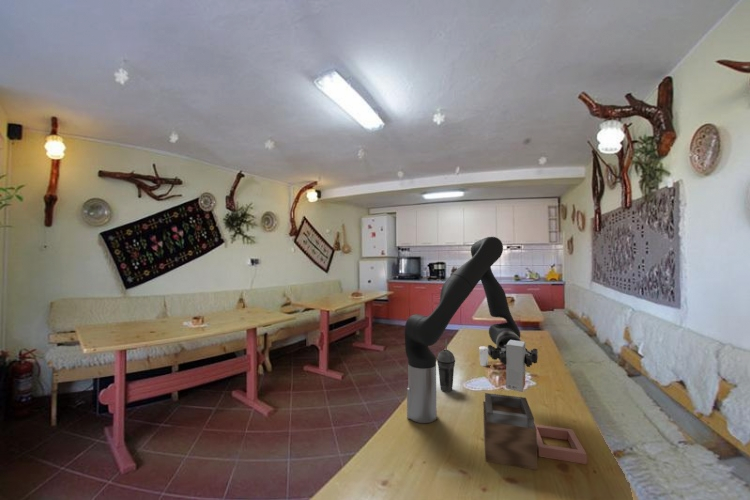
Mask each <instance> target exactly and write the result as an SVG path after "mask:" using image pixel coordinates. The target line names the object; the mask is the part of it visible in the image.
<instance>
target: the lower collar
mask: <svg viewBox="0 0 750 500" xmlns="http://www.w3.org/2000/svg"><path fill="white" fill-rule="evenodd" d="M534 424H535V423H534ZM535 427H536V433H537V456H538V457H542V458H546V459H553V460H560V461H565V462H571V463H576V464H577V463H578V464H582V465H587V464H588V455H587V454H588V453H586V450H585V449H584V447H583V446H582V444H581V442H580V440H579V439H578V437H577V436H576V434H575V431H574V430H573V429H572V428H564V427H556V426H549V425H543V424H542V425H541V424H538V423H537V424H535ZM542 437H543V438H544V437H545V438H552V439H557V440H565V441H566V440H567V441H568V443H569V445H570V447H571V448H569V447H564V446H556V445H550V444H544V442H543V439H542Z"/></svg>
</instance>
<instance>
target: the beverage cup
mask: <svg viewBox="0 0 750 500" xmlns="http://www.w3.org/2000/svg"><path fill="white" fill-rule="evenodd" d="M436 364H437V365H438V376H439V386H440V390H441V392H446V393H450V392H452V391H453V386H454V385H453V384H454V373H455V371H454V370H455V365H456V357H455V355H454V353H453V352H451V351H450V350H449V349H448V338H445V349H442V350H440V352H439V353H438V354H437V357H436Z"/></svg>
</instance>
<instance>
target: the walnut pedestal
mask: <svg viewBox="0 0 750 500" xmlns="http://www.w3.org/2000/svg"><path fill="white" fill-rule="evenodd" d="M482 405H483V406H482V407H483V409H482V410H483V443H484V455H485V462H489V463H494V464H495V463H496V464H501V465H505V466H512V467H518V468H524V469H529V470H536V471H537V470H538V452H537V433H536V427H535V418H534V415H533V412H532V411H531V407H530V405H529V403H528V400H527V397H524V396H514V395H505V394H496V393H488V392H487V393H486V392H484V401H483V403H482Z"/></svg>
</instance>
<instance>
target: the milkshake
mask: <svg viewBox="0 0 750 500" xmlns="http://www.w3.org/2000/svg"><path fill="white" fill-rule="evenodd" d="M478 351H479V353H478V354H479V362H480V364H479V365H480V366H481V367H488V365H489V363H488V361H489V354H488V346H484V345H482V346H479V347H478Z"/></svg>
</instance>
